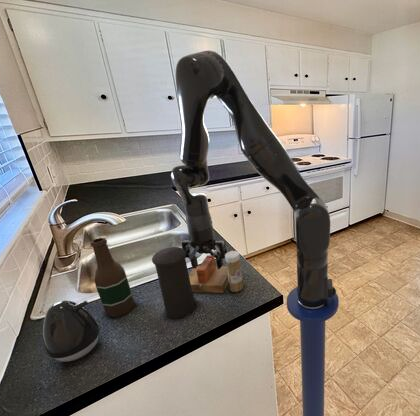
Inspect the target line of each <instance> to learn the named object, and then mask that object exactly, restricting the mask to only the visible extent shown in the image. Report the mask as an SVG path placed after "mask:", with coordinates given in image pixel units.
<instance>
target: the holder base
mask: <svg viewBox="0 0 420 416" xmlns="http://www.w3.org/2000/svg"><path fill="white" fill-rule="evenodd" d="M199 266H200V265H198V266H197V268H196V269H195V268H193V267H192V269H191V271H190V272H188V274H189V278H190V283H191V287H192V292H193V293H211V294H212V293H215V294H217V293H219V294H223V293H224V292H225V290H226V288H227V286H228V285H229V280H228V273H227V265H226V266H224V265H223V266H222V267H221V268H220V269H218V268H217V265H216V269H215V270H214V272H213V273H212V275H211V276H210V278H209V280H208V281H207V283H199V281H198V276H197V271H196V270H197V269H198V267H199Z"/></svg>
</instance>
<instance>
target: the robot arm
mask: <svg viewBox="0 0 420 416" xmlns="http://www.w3.org/2000/svg"><path fill="white" fill-rule="evenodd" d="M175 86H176V94H177V103H178V111H179V119H180V144H179V160H180V161H181V163H182V165H176V166H174V167H173V168H172V169H171V172H170V178H171V181H172V183H173V185H174V187H175V188H176V191H177V192H178V194H179V196H180V199H181V201H182V204H183V208H184V213H185V223H186V226H187V227H186V228H187V231H188V237H189V238H185V239H184V240H183V241H182V242H181V248H182V249H184V250H185V252H186V256H185V259H187V258H188V259H189V260H190V261H189V262H190V265H191V267H192V269H193V268H195V269H196V268H197V266H199V262H198V257H197V254H199V255H201V254H206V255H211V256H214V258H215V263H216V266H217V268H218V269H220V268H221V267H222V266H224V261H223V260H225V254H226V253H228V250H227V245H226V241H225V240H224V239H220V240H216V239H215V232H214V226H213V220H212V215H211V212H210V207H209V201H208V197H207V195H206V194H205V193H203V192H191V191H190V189H192V188H197V187H200V186H204V185H206V184H208V183H209V181H210V171H209V165H208V153H209V147H210V136H209V133H208V130H207V127H206V125H205V122H204V116H205V112H206V111H205V110H206V108H207V104H208V102H209V100H211V99H214V98H217V100H219V102H220V103H221V104H222V106H223V107H224V109H225V110H226V112H227V113H228V115H229V116H230V118H231V121H232V124H233V126H234V130H235V133H236V138H237V141H238V145H239V148H240V151H241V153H242V154H243V156H244V157H245V158H246V159H247V161H248V162H249V163H250V165H251V166H252V167H253V168H254V170H255V171H256V172H257V173H258V174H259V175H260V176H261V177H262V178H263V179H264V180H265V181H267V182H268V183H269V184H270V185H272V186H273V187H274V188H275V189H277V190H278V191H279V192H280V193H281V194H282V196H283V197H284V198H285V199H286V201H287V203H288V204H289V206H290V208H291V209H292V210H293V213H294V216H295V218H294V219H295V248H296V249H295V251H296V278H297V279H296V283H297V286H298V288H297V291H298V303H299V305H300V306H302V307H303V308H305V309H309V310H317V309H320V308H322V307H327V303H328V297H332V296H333V295H334V294H335V293H336V294H337V290H336V288H335V287H334V286H333V279H332V278H329V248H330V243H331V215H330V212H329V210H328V207H327V205H326V203H325V201H324V200H323V199H322V198H321V197H320V196H319V195H318V194H317V193H316V192H315V190H313V188H312V187H311V186H310V184H308V183H307V182H306V180H305V179H304V177H303V176H302V175H301V173H300V171H299V169H298V168H297V166H296V164H295V162H294V161H293V158H292V157H291V156H290V154H289V153H288V151H287V150H286V148H285V147H284V145H283V144H282V142H281V141H280V139H279V138H278V137H277V136H276V134H275V133H274V131H272V129H271V128H270V126H269V125H268V123H267V122H266V121H265V119H264V117H263V116H262V115H261V113H260V112H259V111H258V109H257V108H256V106H255V105H254V104H253V102H252V100H251V99H250V97H249V95H248V94H247V92H246V91H245V88H244V87H243V85H242V84H241V82H240V80H239V78H238V76H237V75H236V73H235V71H234V70H233V69H232V67H231V65H230V64H229V62H228V61H227V60H226V59H225V58H224V57H223V56H222V55H221V54H220V53H218V52H217V51H213V50H203V51H198V52H194V53H191V54H187V55H185V56H182V57H181V58H180V59H178V61H177V63H176V66H175ZM191 247H192V248H193V250H192V251H191V249H190V248H191Z"/></svg>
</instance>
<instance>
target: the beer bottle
mask: <svg viewBox="0 0 420 416" xmlns="http://www.w3.org/2000/svg"><path fill="white" fill-rule="evenodd" d="M90 247H91V248H92V249H93V252H94V253H93V254H94V256H95V257H94V258H95V260H96V261H95V262H96V266H97V267H96V269H95V271H94V285H95V288H96V291H97V294H98V296H99V299H100V301H101V304H102V307H103V310H104V312H105V314H106V317H112V318H118V317H121V316H124V315H126V314H128V313H130V312H131V310H133V309H134V308H135V301H134V300H135V299H134V296H133V292H132V288H131V286H130V283H129V280H128V277H127V273H126V270H125V268H124V267H123V265H121V263H118V262H117V261H116V260H115V259H114V257H113V256H112V253H111V251H110V248H109V246H108V240H107V238H105V237H98V238H95V239H92V240H91V242H90Z"/></svg>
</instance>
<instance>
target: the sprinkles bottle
mask: <svg viewBox="0 0 420 416" xmlns="http://www.w3.org/2000/svg"><path fill="white" fill-rule="evenodd" d="M240 259H241V255H240V252H239V251H237V250H229V251H227V253H226V254H225V258H224V261H225V263H226V266H227V273H228V280H229V283H228V285H229V291H230V292H233V293H237V292H240V291H242V290H243V289H244V285H243V274H242V268H241V260H240Z"/></svg>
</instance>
